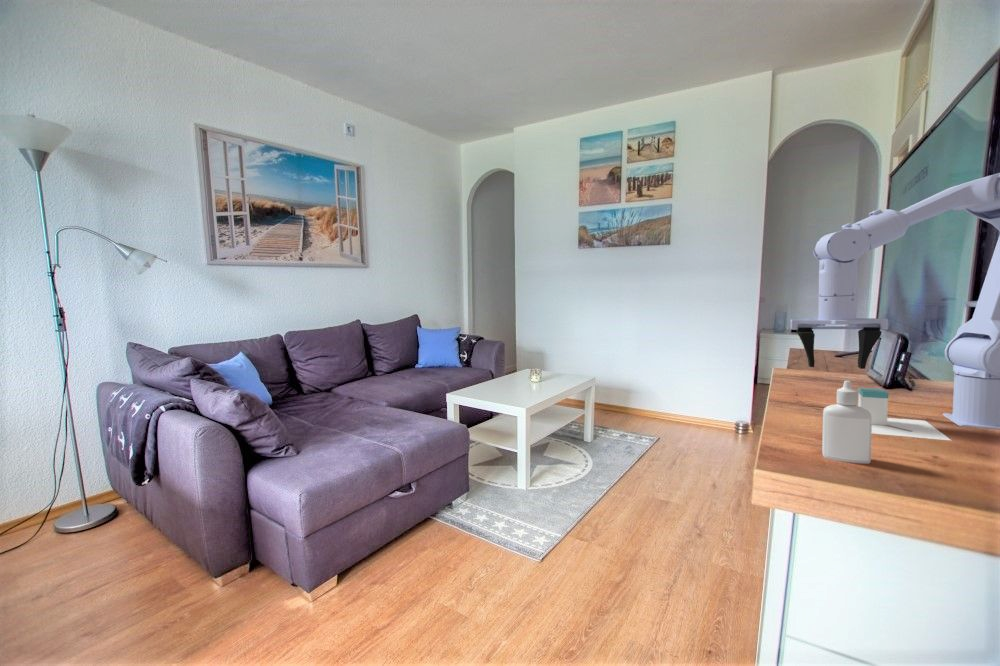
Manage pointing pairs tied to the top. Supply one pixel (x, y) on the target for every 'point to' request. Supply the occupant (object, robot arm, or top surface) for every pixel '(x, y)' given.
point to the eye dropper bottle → (847, 428)
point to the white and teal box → (874, 404)
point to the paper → (908, 429)
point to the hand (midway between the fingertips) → (835, 367)
